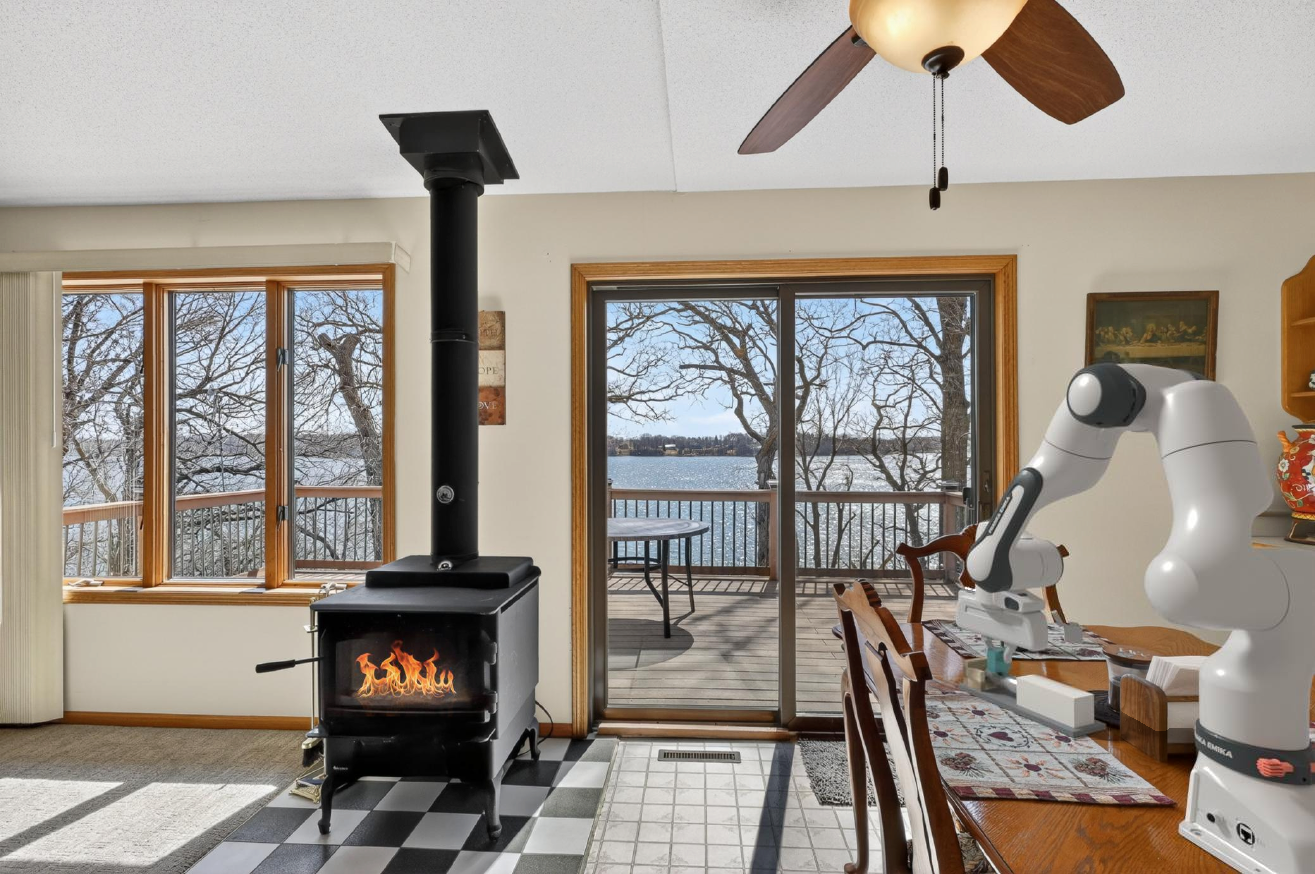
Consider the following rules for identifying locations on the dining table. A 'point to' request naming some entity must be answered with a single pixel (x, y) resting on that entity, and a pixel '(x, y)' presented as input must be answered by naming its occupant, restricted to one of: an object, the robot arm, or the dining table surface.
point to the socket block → (976, 674)
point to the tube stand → (1046, 704)
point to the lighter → (1069, 629)
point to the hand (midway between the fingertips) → (998, 659)
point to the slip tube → (999, 671)
